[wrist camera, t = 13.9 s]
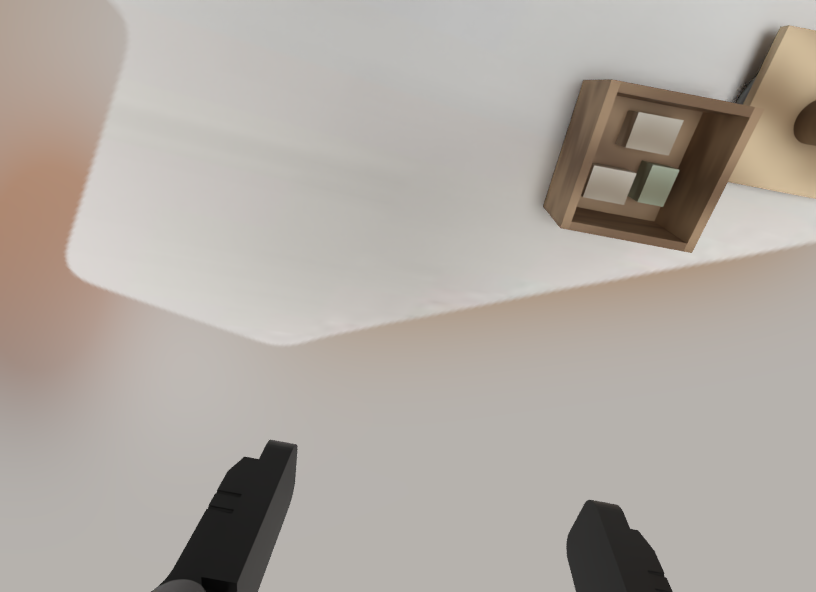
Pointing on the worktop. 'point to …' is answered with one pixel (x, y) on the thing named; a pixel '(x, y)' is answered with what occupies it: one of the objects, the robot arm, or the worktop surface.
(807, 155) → the lid
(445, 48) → the worktop surface
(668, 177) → the tea box
